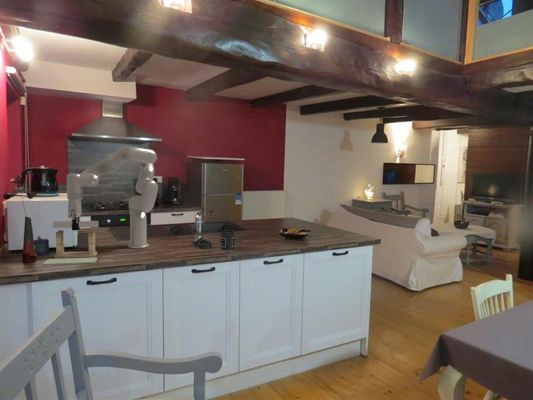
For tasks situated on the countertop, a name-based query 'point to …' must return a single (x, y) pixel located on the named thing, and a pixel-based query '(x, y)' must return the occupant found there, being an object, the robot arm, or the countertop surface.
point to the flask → (41, 246)
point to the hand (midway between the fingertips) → (76, 229)
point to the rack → (62, 254)
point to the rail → (69, 224)
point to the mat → (69, 261)
